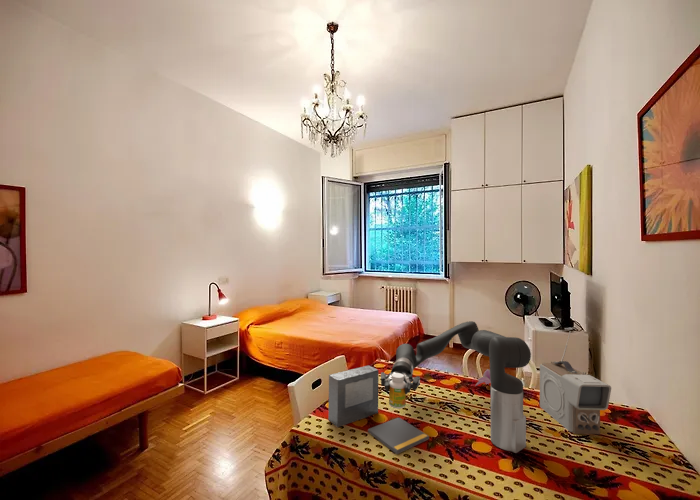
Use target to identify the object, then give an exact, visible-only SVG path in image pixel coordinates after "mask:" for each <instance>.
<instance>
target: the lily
mask: <svg viewBox="0 0 700 500" xmlns="http://www.w3.org/2000/svg"><path fill="white" fill-rule="evenodd" d="M476 380H477V382H476V384H474V385H475V387H476V386H478V385H481V384H482V383H484V384H486V385H487V384H488V385H489V384H491V378H490V368H487V369H486V370H485V371H484V372H483V375H482V377H479V378H477V379H476Z"/></svg>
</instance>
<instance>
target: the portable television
mask: <svg viewBox="0 0 700 500" xmlns="http://www.w3.org/2000/svg"><path fill="white" fill-rule="evenodd" d="M571 333H572V331H569V333H568V338H567V340H566V344H565V346H564V347H565V348H564V350H563V355H562V357H561V360H560V361H550V362H542V363H539V407H540V408H541V410H543V411H545V412H546V413H547V415H549V416H551V418H553V420H555V421H556V422H557V423H558V424H560V425H561V426H562V427H563V428H564V429H566V430H567V431H568V432H570V433H572V434H577V435H579V434H580V435H582V434H583V435H601V411H606V410H608V408H609V403H610V399H611V398H610V397H611V392H612V386H611V385H609V384H607V383H605V382H604V381H602V380H600V379H598V378H596V377H594V376H592V374H591V375H590V374H587V372H583V371H582V372H581V371H579V370H577V369H575V368H574V367H573V366H572V365H571V364H570V363H569V361H567V360H566V361H565V360H564V359H565V354H566V351H567V347H568V342H569V339H570V336H571Z"/></svg>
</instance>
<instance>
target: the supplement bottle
mask: <svg viewBox="0 0 700 500" xmlns="http://www.w3.org/2000/svg"><path fill="white" fill-rule="evenodd" d="M405 386H406V383H405V382H404V375H403V374H400V373H393V374H392V380H391V381H390V383H389V393H388V404H389V406H390V407H391V408H394V409H403V408H405V407H406V405H407V404H406V402H407V400H406V399H407V398H406V396H407V394H405Z"/></svg>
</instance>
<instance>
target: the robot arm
mask: <svg viewBox="0 0 700 500" xmlns="http://www.w3.org/2000/svg"><path fill="white" fill-rule="evenodd" d="M456 335H457V336H458V339H459V341H460V342H459V343H460V344H461V346H462V347H463V348H465V349H468V350H472V351H475V352H477V353H479V354H481V355H483V356H486V357H489V359H488V360H489V370H490V378H491V383H490V441H491V443H492V444H493V445H494V446H496V447H497V448H500V449H502V450H504V451H508V452H512V453H515V454H518V453H519V452H520V451H522V450H523V449H525V448H527V416H526V415H525V414H524V384H523V381H522V380H521V379H520V378H518V377H516V376H514V375H511V374H509V373H507V372H506V370H505V369H506V368H509V369H510V368H512V369H513V368H514V369H515V368H517V369H520V368H524V367H526V366H528V365H529V363H530V362H531V357H532V354H531V353H532V352H531V350H530V347H529V345H528V344H527V342H525V340H523V339H522V338H520V337H516V336H515V337H513V336H512V337H509V336H505V335H502V334H499V333H496V332H494V331H491V330H486V329H481V330H479V327H478V325H477V323H476V322H475V321H465V322H462V323H459V324H457V325H455V326H453V327H451V328H449V329H448V330H446V331H444V332H442V333H440V334H438V335H436V336H434V337H433V338H428V339H426V340H424V341H421V342H419V343H417V344H416V354H415V350H414V347H413V346H412V345H411V344H409V343H402V344H400V345H399V346H398V347H397V348H396V352H395V355H396V356H395V357H396V360H395V362H394V363H393V364H392V369H391V371H390V372H389V373H388V374H387V373H385V372H384V371H383V372H380V385H381V387H384V390H385V392H387V393H388V392H389V383H390V381H391V380H392V374H393V373H400V374H403V375H404V382H405V383H406V386H405V394H406V395H408V394H410V392H411V390H412V391H416V390H417V389H418V387H420V385H421V377H420V376H416V377H415V376H414V377H413V373H414V370H415V368H417V367H418V366H420V364H422V363H423V362H425V361H427V360H428V359H429V358H432V357H435V356H437V355H440V354H441V353H442V352H444V350H445V349H446V347H447V346H448V345H449V343H450V341H451V340H452V339H453V338H454V337H455V336H456Z"/></svg>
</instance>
